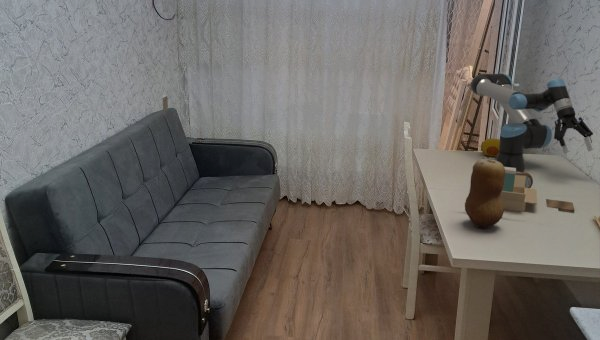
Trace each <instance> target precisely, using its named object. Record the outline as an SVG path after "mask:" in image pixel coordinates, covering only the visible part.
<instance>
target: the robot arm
mask: <svg viewBox="0 0 600 340" xmlns="http://www.w3.org/2000/svg"><path fill="white" fill-rule="evenodd" d="M546 86H547V89H546V90H544V91H543V92H540V93H538V92H537V93H536V92H534V93H524V92H520V91H518V90H515V89H513V80H512V78H511V77H510V75H508V74H506V73H500V72H499V73H480V74H477V75H476V76H474V77H473V78H472V80H471V82H470V90H471V91H472V93H473V94H475V95H477V96H479V97H488V98H490V99H492V100H493V101H496V102H498V103H499V104H500V105H501V107H502V109H503V110H504V111H505V113H506V114H507V115H508V117H509V118H510V119H511V121H512V123H506V124H504V125H503V126H502V127H501V129H500V130H501V131H500V133H499V135H500V138H499V139H500V145H499V152H498V155H497V157H495V160H496V161H498V162H500V163H502V164H503V166H504V167H511V168H516V171H519V172H525V170H526V165H525V161H524V150H528V149H529V150H530V149H542V148H546V147H548V146H549V145H550V143H551V141H552V138H553V139H554V140H556V141H557V142H559V144H560V146H561V148H562V151H563V153H564V154H567V153H570V151H571V150H570V148H569V144H568V142H567V139H566V138H564V137H565V135H566V133H567V131H568V130H569V129H573V130H575V131H577V133H579V134H580V135H582V137H583V141H584V144H585V147H586V149H587V152H591V151H594V149H595V148H594V147H593V141H592V138H591V136H593V135H594V133H593V131H592V130H591V129H590V128H589V126H587V124H586V122H584V120H583V118H582V116H581V117H579V118H576V111H575V109H574V106H573V102H572V99H571V98H570V94H569V92H568V91H569V90H568V88H567V85H566V82H565V81H564V79H563V78H559V77H558V78H553V79H551V80H549V81H548V82H547V84H546ZM551 106H553V108H554V110H555V112H556V116H557V119H555V120H554V136H553V133H552V129H551V127H550V126H549V125H546V124H542V123H541V122H540V120H538V119H537V118H533V117H532V116H531V115H530V113H529V112H528V110H534V111H536V112H537V113H540V112H543V111H545V110H547V109H548V108H550V107H551ZM552 136H553V137H552Z"/></svg>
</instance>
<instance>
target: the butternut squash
mask: <svg viewBox="0 0 600 340" xmlns="http://www.w3.org/2000/svg"><path fill="white" fill-rule="evenodd" d="M504 180H505V168H504V166H503V164H502V163H500V162H498V161H496V159H495V160H494V159H487V158H480V159H478V160H477V161H476V162H475V163H474V164H473V166H472V171H471V177H470V188H469V191H468V195H467V197H466V198H465V202H464V211H465V213H466V214H467V216H468V218H469V220H470V221H471V222H472V223H473V224H474V226H475V227H477V228H479V229H483V228H484V229H486V228H490V227H493V226H495V225H497V224H498V223H499V222H500V220H501V219H502V217H503V216H504V209H503V203H502V200H501V196H500V195H501V191H502V189H503V186H504Z"/></svg>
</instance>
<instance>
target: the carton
mask: <svg viewBox="0 0 600 340" xmlns="http://www.w3.org/2000/svg"><path fill="white" fill-rule="evenodd" d="M525 180H526V176H518V175H515V180H514V187H513V192H507V191H501V195H500V196H501V200H502V203H503V210H509V211H510V210H511V211H515V212H516V211H517V212H521V213H522V212H525V211H526V205H527V204H533V205H538V196H537V194H538V193H537V189H536V188H532V187H531V188H525Z"/></svg>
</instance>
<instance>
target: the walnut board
mask: <svg viewBox="0 0 600 340" xmlns="http://www.w3.org/2000/svg"><path fill="white" fill-rule="evenodd" d="M545 201H546V208H552V209H557V210H558V211H559V212H563V213H572V214H575V207H574V203H573V202H572V201H565V200H556V199H549V198H546V199H545Z"/></svg>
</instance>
